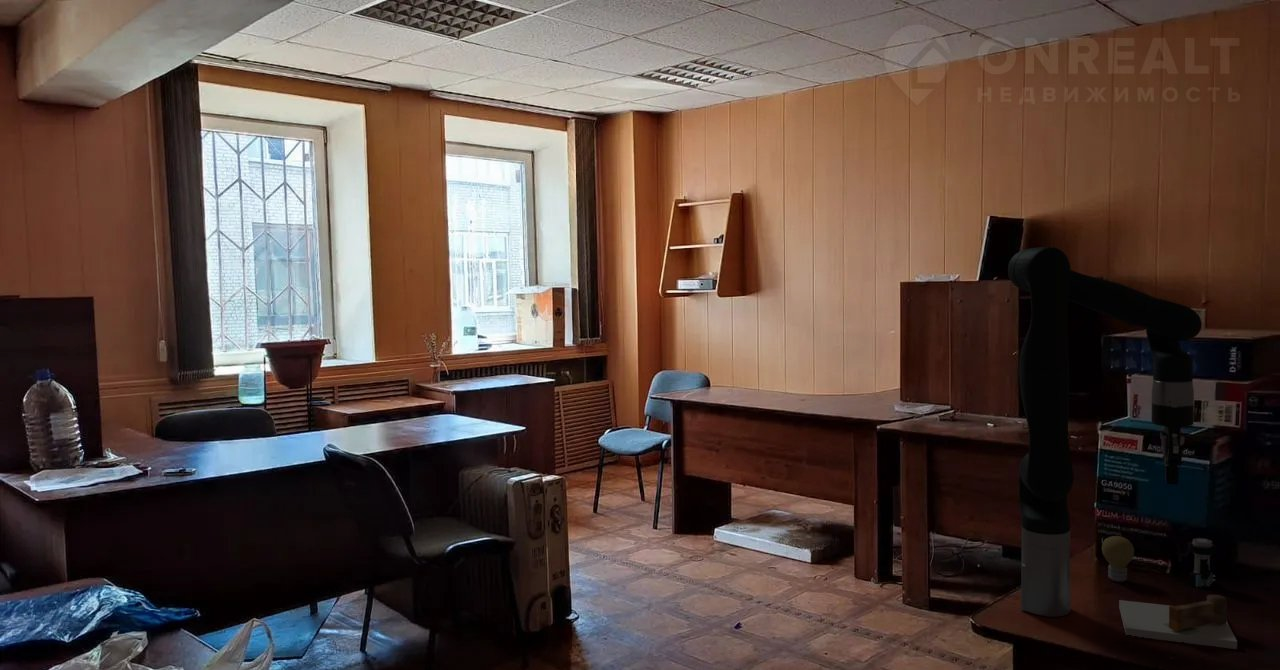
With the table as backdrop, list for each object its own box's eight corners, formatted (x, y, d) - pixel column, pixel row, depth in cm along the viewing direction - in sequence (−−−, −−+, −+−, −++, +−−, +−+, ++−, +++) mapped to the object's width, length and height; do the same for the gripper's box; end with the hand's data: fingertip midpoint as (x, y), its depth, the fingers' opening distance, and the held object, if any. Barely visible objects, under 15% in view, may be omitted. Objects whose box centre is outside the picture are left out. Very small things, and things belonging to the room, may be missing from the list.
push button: (1203, 578, 197) (1204, 534, 196) (1226, 586, 192) (1227, 541, 191) (1181, 582, 194) (1182, 538, 194) (1204, 590, 189) (1205, 545, 189)
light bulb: (1095, 576, 200) (1095, 533, 199) (1121, 574, 201) (1121, 531, 200) (1113, 586, 194) (1113, 542, 193) (1140, 584, 194) (1140, 540, 194)
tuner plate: (1125, 635, 169) (1125, 627, 168) (1119, 607, 182) (1119, 599, 182) (1237, 649, 161) (1237, 640, 161) (1221, 618, 175) (1221, 610, 175)
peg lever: (1215, 617, 171) (1215, 593, 171) (1230, 623, 168) (1230, 599, 168) (1165, 626, 168) (1166, 602, 167) (1180, 632, 164) (1180, 608, 164)
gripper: (1148, 396, 189) (1147, 475, 191) (1155, 406, 177) (1154, 490, 179) (1188, 397, 186) (1188, 477, 188) (1198, 407, 174) (1197, 492, 176)
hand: (1171, 483), depth 183 cm, fingers closed
